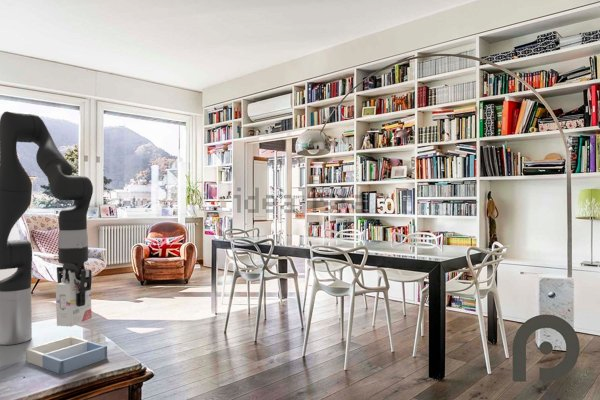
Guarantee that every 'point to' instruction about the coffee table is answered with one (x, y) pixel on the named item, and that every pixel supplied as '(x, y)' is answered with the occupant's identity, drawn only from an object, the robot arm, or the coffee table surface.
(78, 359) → the organizer tray
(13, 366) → the coffee table surface
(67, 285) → the ink cartridge box
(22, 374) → the coffee table surface
